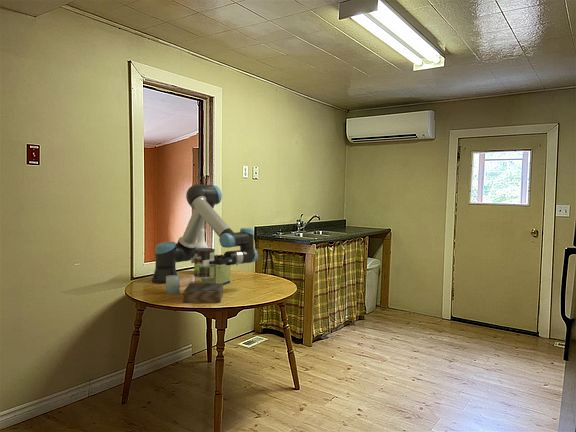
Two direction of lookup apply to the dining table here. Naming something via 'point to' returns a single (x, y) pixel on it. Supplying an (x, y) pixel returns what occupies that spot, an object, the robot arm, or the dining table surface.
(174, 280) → the pale glossy cylinder
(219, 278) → the protein box
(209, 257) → the coffee can
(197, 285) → the podium
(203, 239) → the alcohol
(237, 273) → the dining table surface
